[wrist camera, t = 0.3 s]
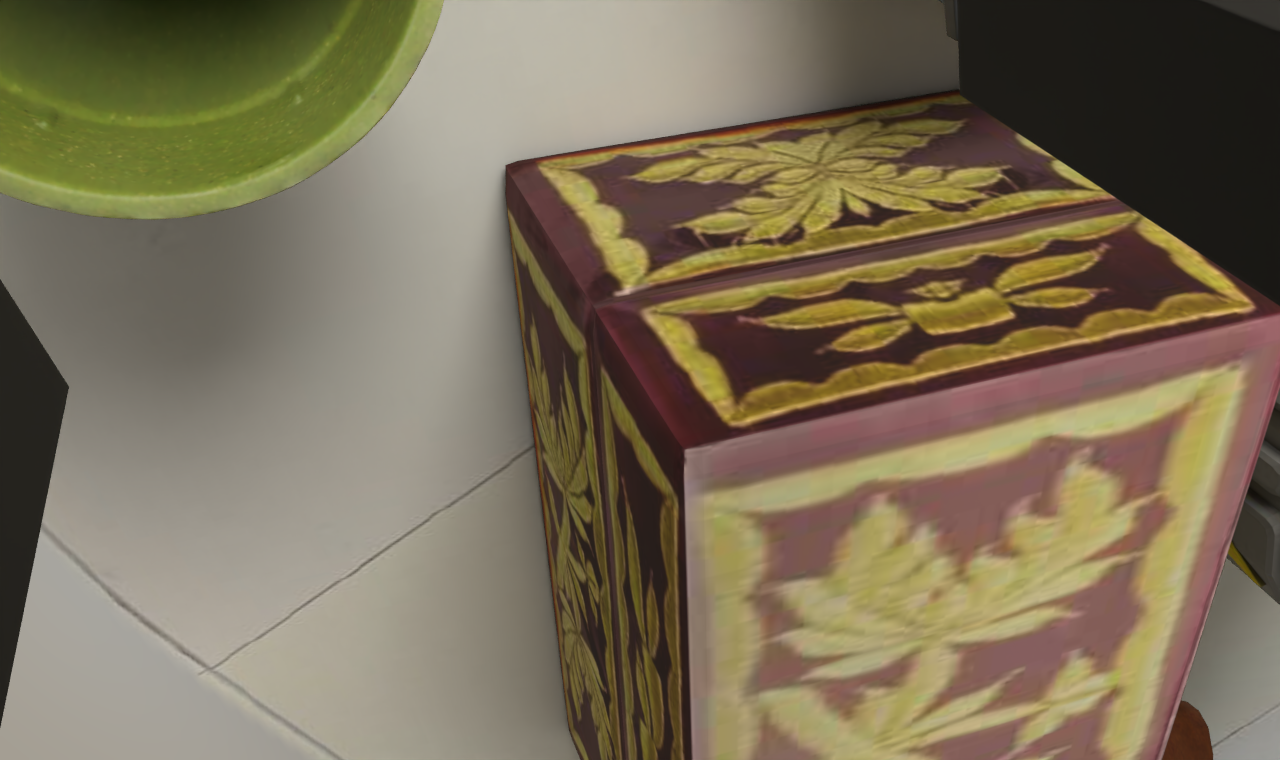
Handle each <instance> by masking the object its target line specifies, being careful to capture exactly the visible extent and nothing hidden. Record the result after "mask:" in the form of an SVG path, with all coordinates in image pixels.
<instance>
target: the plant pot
mask: <svg viewBox="0 0 1280 760" xmlns="http://www.w3.org/2000/svg"><path fill="white" fill-rule="evenodd" d="M443 2H444V0H0V193H2V194H5V195H8V196H10V197H13V198H16V199H19V200H21V201H25V202H28V203H31V204H34V205H38V206H43V207H47V208H52V209H56V210H61V211H66V212H71V213H76V214H81V215H88V216H95V217H106V218H122V219H151V220H156V219H171V218H184V217H191V216H196V215H202V214H209V213H214V212H218V211H223V210H227V209H231V208H235V207H238V206H242V205H245V204H248V203H252V202H254V201H257V200H260V199H263V198H266V197H269V196H271V195H274V194H277V193H279V192H281V191H284V190H286V189H288V188H291V187H292V186H294V185H296V184H298V183H300V182H302V181H303V180H305V179H307V178H309V177H310V176H312V175H313V174H315V173H316V172H318V171H319V170H321V169H323V168H324V167H326V166H327V165H329V164H330V163H332V162H333V161H334V160H336V159H337V158H339V157H340V156H341V155H343V154H344V153H345V152H346V151H348V150H349V149H350V148H351V147H353V146H354V145H355V144H356V143H357V142H359V141H360V140H361V139H362V138H363V137H364V136H365V135H366V134H367V133H368V132H369V131H370V130H371V129H372V128H373V127H374V126H375V125H376V124H377V123H378V122H379V121H380V120H381V119H382V118H383V116H384V115H385V114H386V113H387V112H388V110H389V109H390V108H391V107H392V105H393V104H394V102H395V101H396V99H397V98H398V97H399V95H400V94H401V92H402V91H403V89H404V88H405V87H406V85H407V84H408V82H409V80H410V79H411V77H412V75H413V74H414V72H415V71H416V69H417V67H418V65H419V63H420V61H421V59H422V57H423V55H424V53H425V52H426V50H427V48H428V45H429V43H430V41H431V38H432V36H433V33H434V31H435V28H436V25H437V22H438V19H439V16H440V13H441V10H442V6H443Z"/></svg>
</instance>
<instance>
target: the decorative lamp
mask: <svg viewBox="0 0 1280 760" xmlns="http://www.w3.org/2000/svg"><path fill="white" fill-rule="evenodd" d="M1227 558H1228V559H1229V560H1230V561H1231V562H1232V563H1234V564H1235V565H1236V566H1237V567H1238V568H1239V569H1240V570H1241V571H1243V572H1244V573H1245V574H1246V575H1247V576H1248V577H1249V578H1250V579H1251V580H1253V582H1255V583H1256V584H1257V585H1258V586H1259V587H1260V588H1262V589H1263V590H1264V591H1265V592H1266V593H1267V594H1268V595H1269V596H1271V597H1272V598H1273V599H1274V600H1275V601H1276V602H1277V603H1278V604H1280V389H1279V392H1278V395H1277V399H1276V402H1275V405H1274V408H1273V411H1272V415H1271V418H1270V421H1269V424H1268V427H1267V431H1266V434H1265V437H1264V440H1263V443H1262V447H1261V450H1260V453H1259V456H1258V459H1257V462H1256V466H1255V469H1254V472H1253V475H1252V478H1251V481H1250V484H1249V488H1248V491H1247V494H1246V497H1245V500H1244V503H1243V506H1242V510H1241V513H1240V516H1239V519H1238V522H1237V525H1236V528H1235V532H1234V535H1233V538H1232V541H1231V544H1230V547H1229V550H1228V554H1227Z"/></svg>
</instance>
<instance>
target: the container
mask: <svg viewBox="0 0 1280 760" xmlns="http://www.w3.org/2000/svg"><path fill="white" fill-rule="evenodd" d="M938 1H940V2H942V3H944V7H945V19H946V31H947V35H948V36H949V37H951V38H952V39H954V40H956V41H958V12H957V0H938Z"/></svg>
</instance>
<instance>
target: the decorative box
mask: <svg viewBox="0 0 1280 760" xmlns="http://www.w3.org/2000/svg"><path fill="white" fill-rule="evenodd" d="M506 201H507V210H508V218H509V227H510V236H511V245H512V254H513V262H514V271H515V280H516V289H517V298H518V306H519V315H520V323H521V332H522V340H523V348H524V357H525V365H526V374H527V382H528V391H529V399H530V407H531V416H532V424H533V433H534V441H535V450H536V458H537V466H538V475H539V483H540V492H541V500H542V509H543V517H544V525H545V534H546V542H547V551H548V559H549V568H550V576H551V584H552V593H553V601H554V610H555V618H556V627H557V635H558V643H559V652H560V660H561V669H562V677H563V685H564V693H565V701H566V709H567V717H568V725H569V731H570V734H571V737H572V740H573V743H574V745H575V747H576V750H577V752H578V755H579V757H580V759H581V760H1162V758H1163V755H1164V752H1165V748H1166V745H1167V742H1168V739H1169V736H1170V733H1171V730H1172V726H1173V723H1174V720H1175V717H1176V714H1177V711H1178V708H1179V704H1180V701H1181V698H1182V695H1183V692H1184V689H1185V686H1186V682H1187V679H1188V676H1189V673H1190V670H1191V667H1192V664H1193V660H1194V657H1195V654H1196V651H1197V648H1198V645H1199V642H1200V638H1201V635H1202V632H1203V629H1204V626H1205V623H1206V620H1207V616H1208V613H1209V610H1210V607H1211V604H1212V601H1213V598H1214V594H1215V591H1216V588H1217V585H1218V582H1219V579H1220V576H1221V572H1222V569H1223V566H1224V563H1225V560H1226V557H1227V554H1228V550H1229V547H1230V544H1231V541H1232V538H1233V535H1234V532H1235V528H1236V525H1237V522H1238V519H1239V516H1240V513H1241V510H1242V506H1243V503H1244V500H1245V497H1246V494H1247V491H1248V488H1249V484H1250V481H1251V478H1252V475H1253V472H1254V469H1255V466H1256V462H1257V459H1258V456H1259V453H1260V450H1261V447H1262V443H1263V440H1264V437H1265V434H1266V431H1267V427H1268V424H1269V421H1270V418H1271V415H1272V411H1273V408H1274V405H1275V402H1276V399H1277V395H1278V392H1279V389H1280V306H1279V305H1277V304H1276V303H1274V302H1273V301H1271V300H1270V299H1268V298H1267V297H1265V296H1264V295H1262V294H1261V293H1259V292H1258V291H1256V290H1255V289H1253V288H1252V287H1250V286H1249V285H1247V284H1246V283H1244V282H1243V281H1241V280H1240V279H1238V278H1237V277H1235V276H1233V275H1232V274H1230V273H1229V272H1227V271H1226V270H1224V269H1223V268H1221V267H1220V266H1218V265H1217V264H1215V263H1214V262H1212V261H1211V260H1209V259H1208V258H1206V257H1205V256H1203V255H1202V254H1200V253H1199V252H1197V251H1196V250H1194V249H1193V248H1191V247H1190V246H1188V245H1187V244H1185V243H1183V242H1182V241H1180V240H1179V239H1177V238H1176V237H1174V236H1173V235H1171V234H1170V233H1168V232H1167V231H1165V230H1164V229H1162V228H1161V227H1159V226H1158V225H1156V224H1155V223H1153V222H1152V221H1150V220H1149V219H1147V218H1146V217H1144V216H1143V215H1141V214H1140V213H1138V212H1137V211H1135V210H1133V209H1132V208H1130V207H1129V206H1127V205H1126V204H1124V203H1123V202H1121V201H1120V200H1118V199H1117V198H1115V197H1114V196H1112V195H1111V194H1109V193H1108V192H1106V191H1105V190H1103V189H1102V188H1100V187H1099V186H1097V185H1096V184H1094V183H1093V182H1091V181H1090V180H1088V179H1087V178H1085V177H1083V176H1082V175H1080V174H1079V173H1077V172H1076V171H1074V170H1073V169H1071V168H1070V167H1068V166H1067V165H1065V164H1064V163H1062V162H1061V161H1059V160H1058V159H1056V158H1055V157H1053V156H1052V155H1050V154H1049V153H1047V152H1046V151H1044V150H1043V149H1041V148H1040V147H1038V146H1036V145H1035V144H1033V143H1032V142H1030V141H1029V140H1027V139H1026V138H1024V137H1023V136H1021V135H1020V134H1018V133H1017V132H1015V131H1014V130H1012V129H1011V128H1009V127H1008V126H1006V125H1005V124H1003V123H1002V122H1000V121H999V120H997V119H996V118H994V117H993V116H991V115H990V114H988V113H986V112H985V111H983V110H982V109H980V108H979V107H977V106H976V105H974V104H973V103H971V102H970V101H968V100H967V99H965V98H964V97H962V96H961V95H960V90H954V91H948V92H942V93H935V94H929V95H923V96H917V97H911V98H904V99H898V100H892V101H886V102H880V103H873V104H867V105H861V106H855V107H848V108H842V109H836V110H830V111H824V112H817V113H811V114H805V115H799V116H792V117H786V118H780V119H774V120H768V121H761V122H755V123H749V124H743V125H737V126H730V127H724V128H718V129H712V130H705V131H699V132H693V133H687V134H681V135H674V136H668V137H662V138H656V139H649V140H643V141H637V142H631V143H625V144H618V145H612V146H606V147H600V148H594V149H587V150H581V151H575V152H569V153H563V154H557V155H551V156H545V157H539V158H533V159H527V160H522V161H517V162H514V163H511V164H508V165H506Z"/></svg>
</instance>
